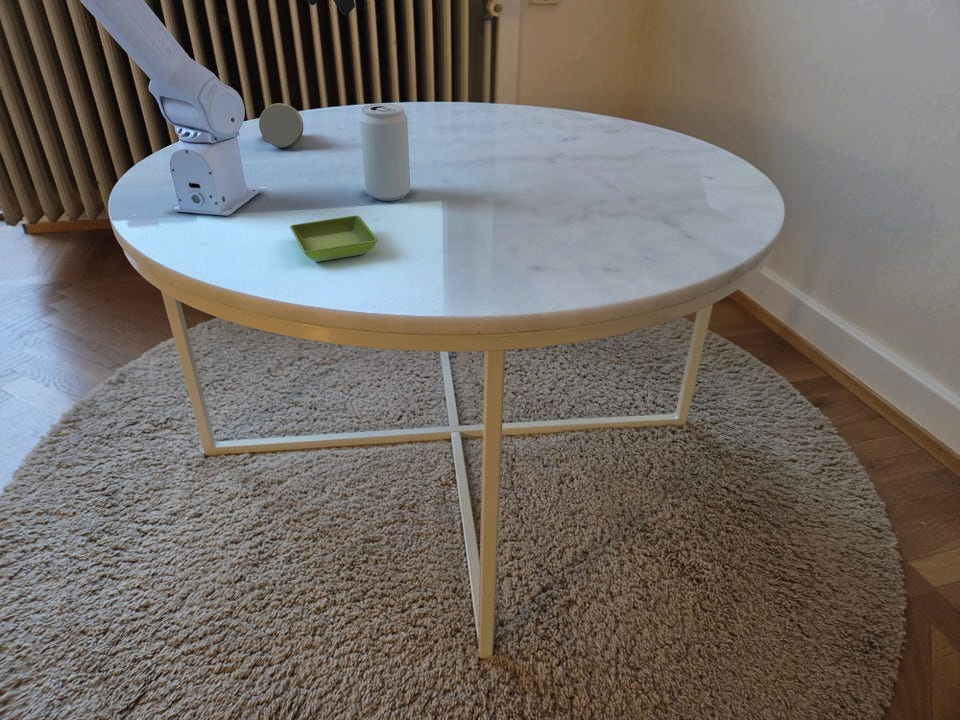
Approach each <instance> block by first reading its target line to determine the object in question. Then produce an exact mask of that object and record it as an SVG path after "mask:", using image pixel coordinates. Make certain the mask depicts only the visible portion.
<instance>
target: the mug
mask: <svg viewBox="0 0 960 720" xmlns="http://www.w3.org/2000/svg"><path fill="white" fill-rule="evenodd" d="M258 128H259V132H260V134H261V139H262V140H264V141H266V143H268V144H269V145H272V146H273V147H277V148H280V149H281V148H282V149H286V148H291V147H292V146H294V145H296V144H298V143H299V141H300V140H301V138H302V136H303V133H304V122H303V118H302V116H301V114H300V112H299V111H298V110H297V109H296V108H294V106H292V105H289V104H287V103H282V102H275V103H272V104H270V105H267V106H266V107H265V108H264V109H263V111H262V112H261V113H260V116H259V120H258Z"/></svg>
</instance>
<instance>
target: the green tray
mask: <svg viewBox="0 0 960 720" xmlns="http://www.w3.org/2000/svg"><path fill="white" fill-rule="evenodd" d="M289 229H290V231H291V232H292V234H293V236H294V238H295V240H296V241H297V243H298V245H299V247H300V250H301V251H302V252H303V255H305V256H306V257H307V258H308V259H309V260H311V261H312V262H315V263H318V262H319V263H320V262H324V261H331V260H336V259H343V258H348V257H355V256H361V255H365V254H367V253H368V252H370V251H371V250H372V249H374V247H375V246H376V244H377V242H378V237H376V235H375V234H374V232H372V230H371V229H370V228H369V226H368V225H367V224H366V222H365V221H364V220H363V218H362V217H361V216H360V215H348V216H342V217H336V218H328V219H322V220H315V221H309V222H308V221H307V222H302V223H295V224H291V225H289Z"/></svg>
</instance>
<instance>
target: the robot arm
mask: <svg viewBox="0 0 960 720" xmlns="http://www.w3.org/2000/svg"><path fill="white" fill-rule="evenodd" d="M319 1H320V0H306V2H308V4H309V5H311V6H315V5H316V4H317V2H319ZM332 1H333V2H334V4H335V5H336V7H337V8H338V10H339V12H341V14H342V15H344V16H348V15H349V14H350V13H351V12H352V11H353V10H354V9H355V8H356V3H355V0H332ZM79 2H80V3H81V4H82V6H84V7H85V9H87V11H89V13H90V14H91V15H92V16H93V18H95V20H97V21H98V23H99V24H100V25H101V26H102V27H103V28H104V30H106V31H107V33H108V34H109V35H110V36H111V37H112V38H113V39H114V40H115V42H116V43H117V44H118V45H119V47H121V48H122V50H124V52H125V53H126V54H127V55H128V56H129V57H130V58H131V60H133V62H134V63H135V64H136V65H137V66H138V67H139V69H141V70H142V71H143V73H144V74H145V75H146V76H147V77H148V78H149V80H150V81H149V83H148V91H149V93H150V94H152V95H153V97H154V98H155V100H156V102H157V104H158V106H159V109H160V112H161V114H162V116H163V118H164V119H165V120H166V121H167V122H168V123H169V124H171V125H172V126H173V127H174V132H175V134H176V135H177V137H178V146H177V149H176V150H175V151H174V152H173V153H172V155H170V156H171V157H170V159H169V170H170V174H171V179H172V182H173V183H172V184H173V187H174V190H175V194H176V198H177V202H178V204H177V205H175V206H174V207H173V210H174V212H178V213H179V212H180V213H191V214H203V215H213V216H214V215H215V216H231V215H232V214H233V213H234V212H236V211H237V210H239V209H240V208H241V207H243V205H245V204H246V203H248V202H249V201H250V200H252V199H253V198H254V197H255V196H257V195H258V194H259V193H260V192H261V191H260V189H259V188H255V187H247V182H246V178H245V173H244V167H243V162H242V156H241V151H240V145H239V141H238V140H239V139H238V137H239V136H240V130H241V128H242V127H243V124H244V122H245V115H246V114H245V113H246V112H245V105H244V101H243V99H242V97H241V95H240V93H239V92H238V91H237V90H235V89H234V87H232V86H230V85H227V84H224V83H223V82H222V81H221V80H220V79H219V78H218V77H217V76H216V74H215V73H213V72H212V71H211V70H210V69H208V68H207V67H205V66H203V65H202V64H200V63H199V62H197V61H196V60H194V59H193V58H191V57H190V56H189V54H188V53H187V52H186V51H185V49H184V48H183V47H182V46H181V45H180V43H179V42H178V41H177V40H176V38H175V37H174V36H173V35H172V34H171V32H170V31H169V30H168V28H167V27H166V26H165V25H164V24H163V22H162V21H161V20H160V19H159V17H158V16H157V15H156V14H155V12H154V11H153V10H152V9H151V7H150V6H149V5H148V4H147V3H146V1H145V0H79Z"/></svg>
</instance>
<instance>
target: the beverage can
mask: <svg viewBox="0 0 960 720" xmlns="http://www.w3.org/2000/svg"><path fill="white" fill-rule="evenodd" d="M361 112H362V113H361V114H360V117H359V129H360V131H359V132H360V141H361V142H360V143H361V153H362V154H361V155H362V164H363V165H362V166H363V177H364V179H363V180H364V189H365V192H366V194H367V195H369V196H370V197H371V198H372V199H374V200H378V201H383V202H384V201H385V202H393V201H399V200H401V199H404V198H405V197H406V196H407V195H408V194H409V193H410V191H411V169H410V168H411V167H410V148H409V147H410V146H409V126H408V125H409V123H408V116H407V114H406V113H405V108H404V106H403V105H400V104H395V103H385V102H383V103H382V102H381V103H371V104H367V105H364V106H363V107H362V108H361Z"/></svg>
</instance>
